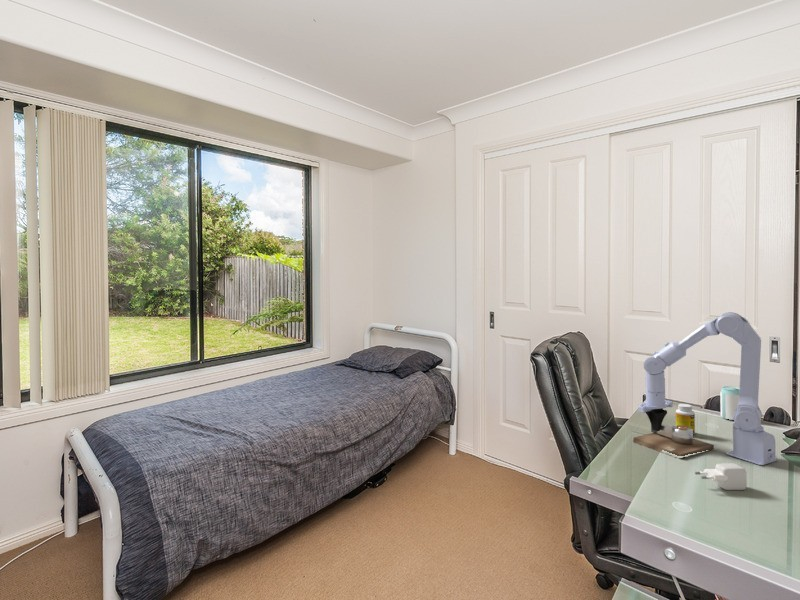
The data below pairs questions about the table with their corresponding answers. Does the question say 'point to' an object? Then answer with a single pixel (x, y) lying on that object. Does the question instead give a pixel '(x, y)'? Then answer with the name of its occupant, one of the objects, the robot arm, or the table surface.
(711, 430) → the table surface
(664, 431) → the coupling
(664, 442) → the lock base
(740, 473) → the power adapter
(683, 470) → the table surface
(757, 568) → the table surface
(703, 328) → the robot arm
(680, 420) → the supplement bottle
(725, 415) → the can
